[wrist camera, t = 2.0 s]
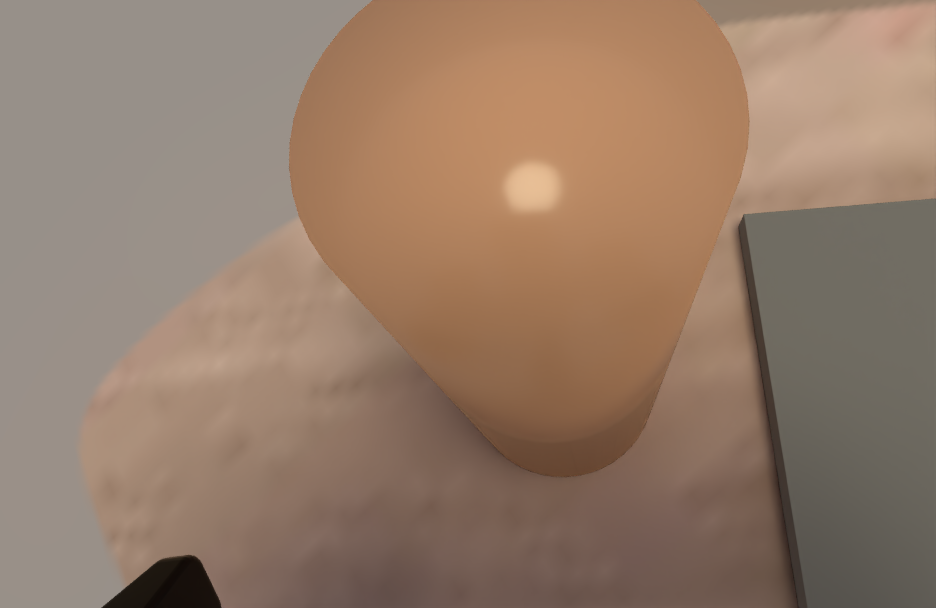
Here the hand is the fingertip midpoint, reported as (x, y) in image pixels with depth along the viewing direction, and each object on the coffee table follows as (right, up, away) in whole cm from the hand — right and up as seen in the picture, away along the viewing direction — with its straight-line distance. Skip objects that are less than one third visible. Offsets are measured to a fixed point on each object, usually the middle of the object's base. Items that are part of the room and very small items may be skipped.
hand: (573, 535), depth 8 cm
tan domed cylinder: (+1, 0, +12) cm, 12 cm away
